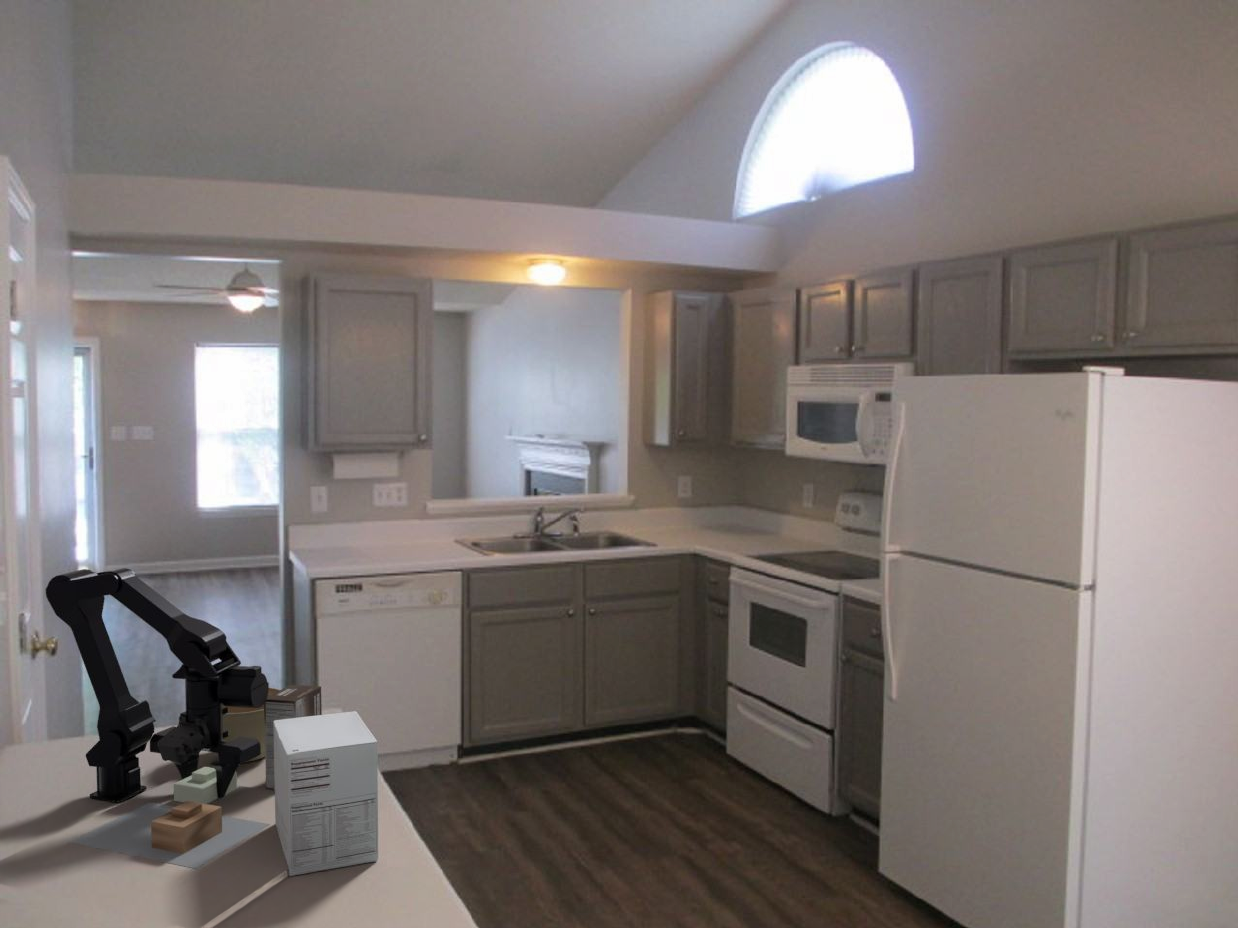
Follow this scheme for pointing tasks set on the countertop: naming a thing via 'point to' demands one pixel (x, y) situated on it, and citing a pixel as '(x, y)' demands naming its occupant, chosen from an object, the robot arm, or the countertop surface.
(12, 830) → the countertop surface
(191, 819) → the lower brick
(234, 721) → the planter bowl
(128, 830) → the base plate
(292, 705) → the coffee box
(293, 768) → the supplement box
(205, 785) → the upper brick
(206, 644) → the robot arm
